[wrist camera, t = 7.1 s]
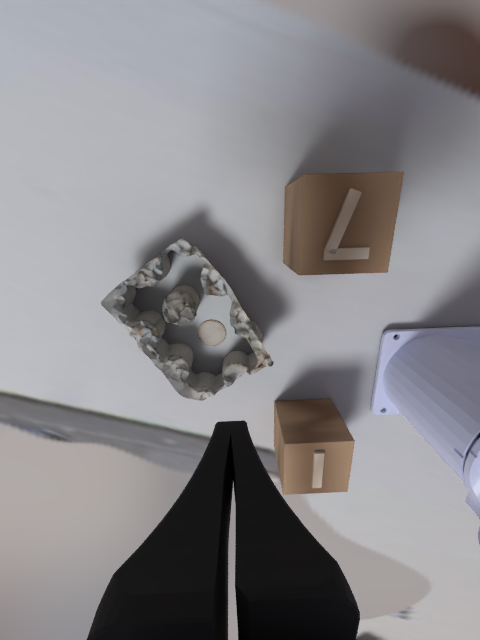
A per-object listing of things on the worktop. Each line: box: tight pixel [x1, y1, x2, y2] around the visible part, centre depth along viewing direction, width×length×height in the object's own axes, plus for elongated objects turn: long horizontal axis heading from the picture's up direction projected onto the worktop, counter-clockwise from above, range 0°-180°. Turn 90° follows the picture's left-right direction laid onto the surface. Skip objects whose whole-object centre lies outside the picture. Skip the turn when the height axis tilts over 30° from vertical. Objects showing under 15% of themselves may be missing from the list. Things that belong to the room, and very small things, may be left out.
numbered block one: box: [274, 398, 355, 495], centre depth 22 cm, size 5×5×5 cm
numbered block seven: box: [283, 172, 404, 275], centre depth 16 cm, size 5×5×5 cm
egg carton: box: [101, 237, 274, 400], centre depth 19 cm, size 11×8×4 cm
